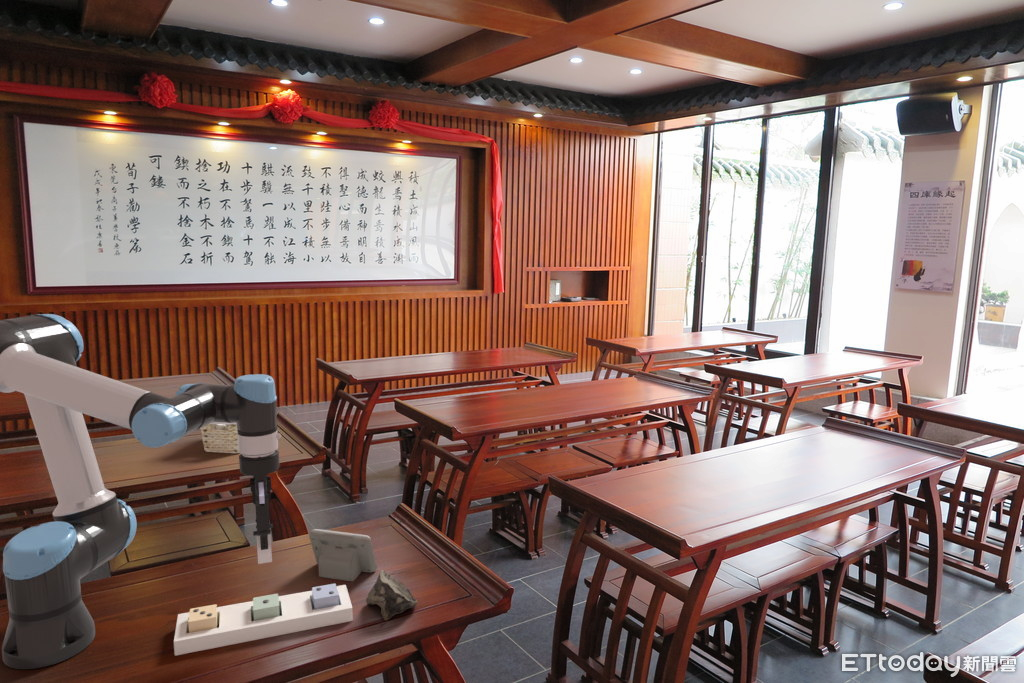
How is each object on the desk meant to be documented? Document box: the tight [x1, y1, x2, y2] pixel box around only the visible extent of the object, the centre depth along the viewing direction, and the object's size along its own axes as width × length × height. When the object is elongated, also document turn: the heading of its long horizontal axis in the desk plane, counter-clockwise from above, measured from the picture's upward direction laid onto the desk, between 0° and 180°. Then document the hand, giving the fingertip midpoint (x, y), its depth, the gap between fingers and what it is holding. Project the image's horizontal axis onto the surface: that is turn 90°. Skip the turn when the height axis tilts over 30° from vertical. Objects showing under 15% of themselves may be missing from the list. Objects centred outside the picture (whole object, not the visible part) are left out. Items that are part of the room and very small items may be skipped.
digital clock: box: [308, 528, 378, 582], centre depth 162 cm, size 16×9×11 cm, turn 66°
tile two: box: [311, 582, 339, 610], centre depth 145 cm, size 5×5×4 cm
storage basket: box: [199, 422, 240, 455], centre depth 255 cm, size 24×16×15 cm
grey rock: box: [365, 569, 418, 621], centre depth 147 cm, size 11×9×10 cm
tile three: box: [188, 603, 218, 633], centre depth 136 cm, size 5×5×4 cm
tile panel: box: [173, 584, 354, 656], centre depth 141 cm, size 34×10×3 cm, turn 112°
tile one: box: [252, 593, 281, 621], centre depth 140 cm, size 5×5×4 cm
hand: (265, 561), depth 138 cm, fingers closed
